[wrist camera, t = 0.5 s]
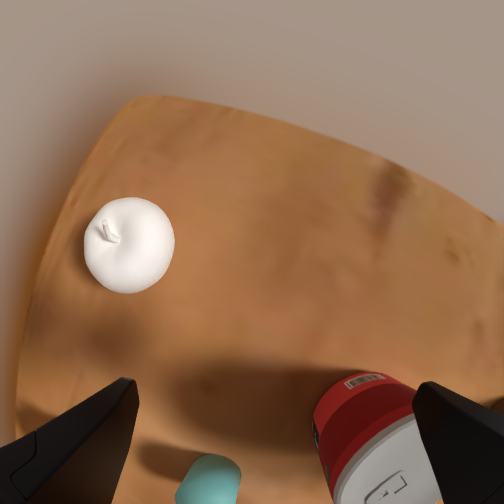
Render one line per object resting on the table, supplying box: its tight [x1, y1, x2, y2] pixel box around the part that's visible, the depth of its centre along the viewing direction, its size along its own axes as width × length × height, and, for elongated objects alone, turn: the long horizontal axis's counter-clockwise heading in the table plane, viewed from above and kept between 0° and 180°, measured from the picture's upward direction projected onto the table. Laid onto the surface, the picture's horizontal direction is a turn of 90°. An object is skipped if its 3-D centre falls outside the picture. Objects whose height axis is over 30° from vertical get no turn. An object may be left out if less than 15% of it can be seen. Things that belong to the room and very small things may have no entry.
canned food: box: [311, 372, 442, 504], centre depth 14 cm, size 8×8×11 cm
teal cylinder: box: [175, 454, 241, 504], centre depth 16 cm, size 4×4×5 cm
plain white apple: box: [84, 197, 175, 293], centre depth 19 cm, size 7×7×8 cm
